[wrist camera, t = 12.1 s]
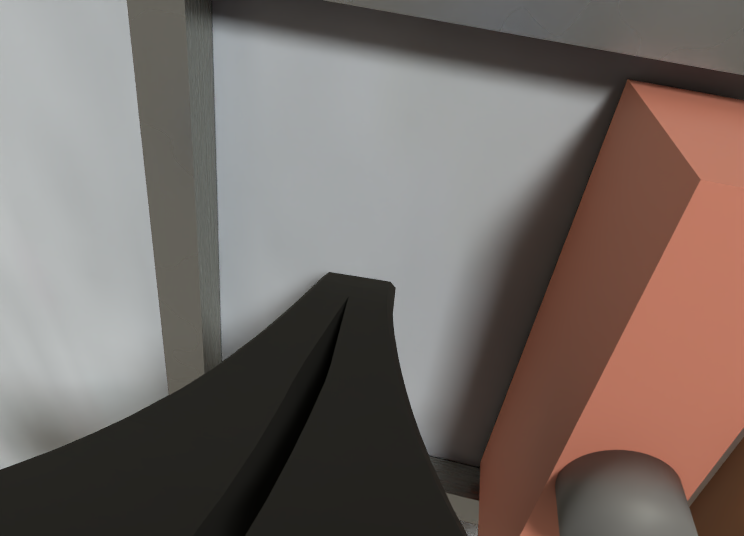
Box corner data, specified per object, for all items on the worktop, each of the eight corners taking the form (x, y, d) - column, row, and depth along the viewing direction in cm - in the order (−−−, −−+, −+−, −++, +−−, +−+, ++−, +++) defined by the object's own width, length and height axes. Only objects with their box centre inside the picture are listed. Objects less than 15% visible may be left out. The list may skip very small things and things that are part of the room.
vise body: (1314, 83, 8) (1924, 218, 4) (792, 569, 15) (875, 756, 12) (149, -111, 9) (-48, -117, 6) (190, 421, 16) (113, 551, 13)
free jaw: (781, 107, 9) (1022, 283, 5) (572, 484, 15) (601, 713, 10) (627, 79, 9) (733, 225, 5) (480, 462, 15) (473, 679, 11)
